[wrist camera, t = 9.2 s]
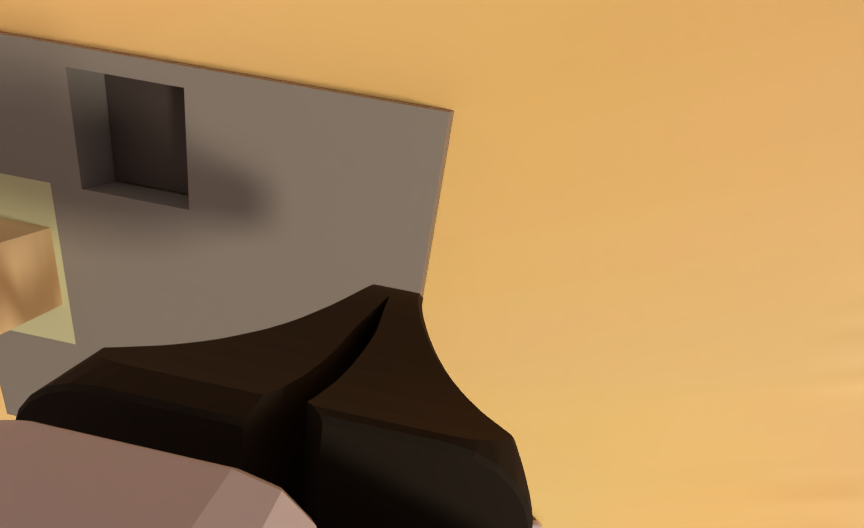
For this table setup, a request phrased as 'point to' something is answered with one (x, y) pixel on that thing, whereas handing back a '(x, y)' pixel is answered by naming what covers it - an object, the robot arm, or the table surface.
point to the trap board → (201, 199)
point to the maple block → (26, 273)
